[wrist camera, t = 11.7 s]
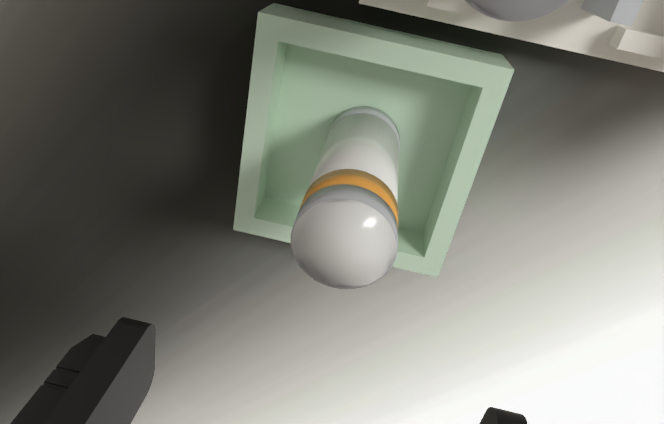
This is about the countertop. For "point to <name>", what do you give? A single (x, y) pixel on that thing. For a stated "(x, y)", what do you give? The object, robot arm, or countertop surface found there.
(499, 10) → the cylinder
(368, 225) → the fuse marked
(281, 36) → the tray
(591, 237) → the countertop surface
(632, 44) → the holder
